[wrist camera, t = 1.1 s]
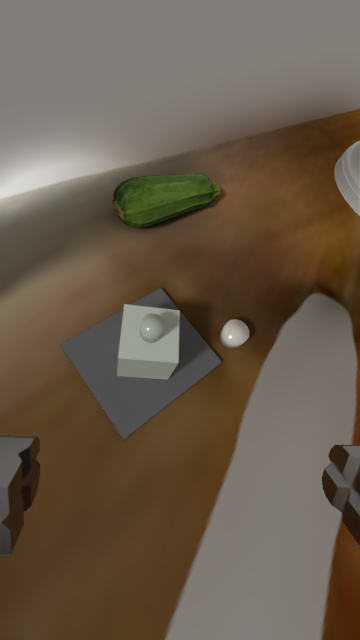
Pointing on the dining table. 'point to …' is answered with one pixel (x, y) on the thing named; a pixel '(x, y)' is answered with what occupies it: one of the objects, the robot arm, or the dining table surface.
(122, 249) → the dining table surface
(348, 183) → the dome cover
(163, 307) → the mat
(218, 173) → the dining table surface
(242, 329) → the glossy white pebble
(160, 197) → the vegetable
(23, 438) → the robot arm
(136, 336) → the square capped bottle
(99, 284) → the dining table surface
